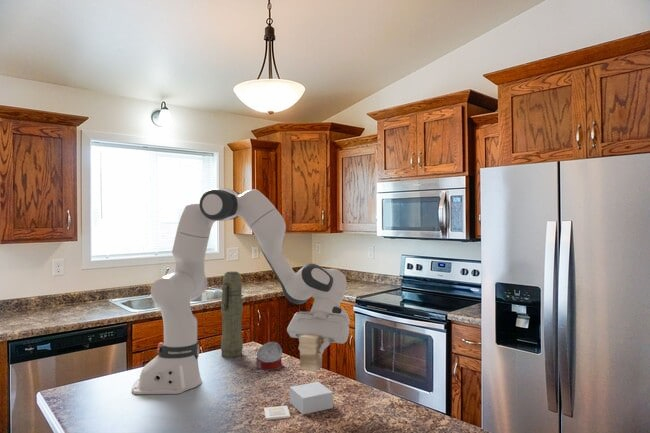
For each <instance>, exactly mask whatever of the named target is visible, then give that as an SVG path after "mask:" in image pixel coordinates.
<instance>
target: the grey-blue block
mask: <svg viewBox="0 0 650 433" xmlns="http://www.w3.org/2000/svg"><path fill="white" fill-rule="evenodd" d="M289 403H290V404H291V405H292V406H293V407H295V409H296V410H297V411H299V412H300V413H301V414H302V415H307V414H311V413H315V412H320V411H325V410H329V409H333V407H334V393H333V391H332V390H330V389H329V388H327V387H326V386H325V385H324V384H322V383H321V382H319V381H315V382H311V383H310V382H309V383H303V384H300V385H299V384H298V385H292V386H289Z"/></svg>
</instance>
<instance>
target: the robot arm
mask: <svg viewBox="0 0 650 433" xmlns="http://www.w3.org/2000/svg"><path fill="white" fill-rule="evenodd" d="M239 217H240V219H242V220H243V221H244V222H245V223H246V225H247V226H248V227H249V229H250V230H251V231H252V233H253V235H254V236H255V238H256V239H257V242H258V244H259V246H260V247H259V248H260V250H261V252H262V255H263V256H264V258H265V260H266V262H267V264H268V265H269V267H270V269H271V270H272V271H273V273H274V275H275V277H276V278H277V280H278V281H279V284H280V287H281V290H282V293H283V295H284V297H285V298H286V299H287V301H288V302H290V303H292V304H294V305H303V304H304V303H306V302H308V300H310V299H311V297H312V298H313V299H314V300H313V303H312V306H311V309H310V310H309V311H303V310H299V311H298V312H296V313H294V315H293V317H292V319H291V320H290V322H289V324H288V326H287V328H286V331H287V334H288V335H289V337H290V338H294V339H298V342H299V344H298V350H299V351H300V337H301V336H303V335H305V334H314V335H321V337H322V345H321V346H318V349H317V352H318V353H321V354H322V355H323V354H324V351H325V350H326V349H327V348H328V347H329V346H330V345H331V343H334V344H335V343H336V344H342V345H344V344H345V343H346V342H347V341H348V339H349V334H350V326H349V324H350V323H351V320H350V317H349V314H348V313H347V311H346V310H345V309H344V308H342V307H340V305H341V303H342V302H343V300H344V296H345V294H346V290H347V289H346V288H347V277H346V276H345V274H344V273H343V272H342V271H341V270H339V269H338V268H337V269H336V268H323V267H321V266H320V265H319V264H316V263H307V264H305V265H304V266H303V267H301V268H300V269H299V270H297V272H295V271H294V270H293V267H292V266H291V264H290V263H289V260H287V258H286V256H285V254H284V252H283V243H284V242H283V240H284V237H285V234H286V228H287V227H286V226H287V225H286V222H285V220H284V217H283V216H282V214H281V213H280V212H279V210H278V209H277V208H276V206H275V205H274V204H273V203H272V201H270V200H269V198H267V197H266V196H265V195H264V193H262V192H261V191H259V190H258V189H255V188H253V189H248V190H246V191H244V192H242V194H241V193H239V192H238V191H236V190H233V189H229V188H211V189H209V190H206V191H205V192H204V193H203V194H202V196H201V197H200V199H199V201H194V202H193V201H192V202H189V203H188V204H186V205H185V207H184V208H183V211H182V213H181V215H180V219H179V222H178V225H177V228H176V232H175V237H174V241H173V247H172V251H171V252H172V256H173V258H174V260H175V271H174V272H172V273H167V274H164V275H163V276H161V277H159V278H157V279H156V280H155V281H154V282H153V283H152V285H151V287H150V296H151V299H152V301H153V303H155V304H156V305H157V306H158V308H159V310H160V313H161V317H162V321H163V342H161V341H160V342H159V343H158V345H157V350H156V351H157V355H156V356H155V357H154V358H153V359H151V360H150V361H148V363H146V364H145V365H144V366H143V368H142V369H141V371H140V375H139V379H137V380H136V381H135V382H133V384H132V387H131V392H132V393H133V394H134V395H177V394H181V393H184V392H185V391H188V390H190V389H193V388H197V387H199V385H201V383H202V382H203V380H202V377H201V372H200V367H199V354H200V353H199V352H200V346H199V341H198V319H197V317H196V316H195V315H194V314H193V311H192V307H191V301H193V300H196V299H198V298H200V297H201V296H202V295H203V294H204V293H205V292H206V290H207V288H208V278H207V276H206V275H205V259H206V253H207V248H208V244H209V239H210V235H211V230H212V227H213V225H214V223H215V222H217V221H219V222H226V221H230V220H234V219H237V218H239Z"/></svg>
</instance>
